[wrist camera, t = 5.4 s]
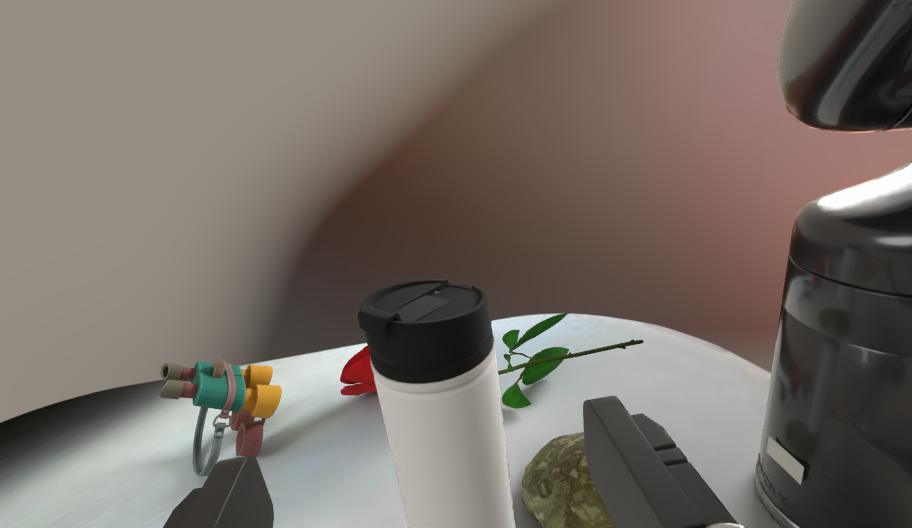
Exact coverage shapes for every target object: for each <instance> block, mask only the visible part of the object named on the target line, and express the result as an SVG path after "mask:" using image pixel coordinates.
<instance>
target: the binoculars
mask: <svg viewBox="0 0 912 528" xmlns="http://www.w3.org/2000/svg"><path fill="white" fill-rule="evenodd" d="M272 373H273V369H272V367H270V366H257V365H248V367H247V369H246V370H242V369H240V367H239V366H236V365H230V364H227V363H225V361H224V360H221V359H216V360H215V361H214V363H207V362H197V363H196V364H195V367H194V368H187V367H182V365H177V364H168V363H166V364H164V365H163V366H162V368H161V376H162V378H163V380H164V381H168V382H167V383H166V384H165V386H164V387H163V389H162V391H161V393H160V397H161V398H170V399H179V397H183V398H193V405H194V406H201V409H200V412H199V416H198V421H197V425H196V430H195V436H194V445H193V467H194V471H195V474H196V475H197V476H207V475H209V474H210V472H211V471H212V469H213V467H214V465H215V464H216V462H217V460H218V457H219V454H220V450H221V445H222V437H223V433H224V429H225V427H229V426H230V425H231V430H234V431H238V434H237V439H236V454H237V456H254V457H257V456H258V454H259V452H260V449H261V445H262V439H263V425H264V422H265V418H269V417H271V416H272V415H273V413H274V412H275V410H276V408H277V407H278V404H279V402H280V398H281V392H282V391H281V387H280V386H274V385H269V383H270V381H271V378H272ZM179 380H182V381H179ZM183 381H191V384H188V383H183ZM208 408H214V409H221V410H222V411H221V414H220V415H218V416H216V418H215V419H214V421H213V426H214V427H215V432H214V440H213V446H212V451H211V454H210V457H209V460H208V462H207V464H206V466H205V467H204V469H203V468H202V463H201V442H202V433H203V428H204V423H205V418H206V414H207V410H208ZM230 411H232V415H231V416H229V415H228V414H229V412H230ZM218 417H220V418H224V419H227V418H228V417H229V425H226V423H217V424H216V425H215V422H216V420H217V418H218ZM255 417H260V418H262V421H261V420H259V421H254V419H255Z"/></svg>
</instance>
